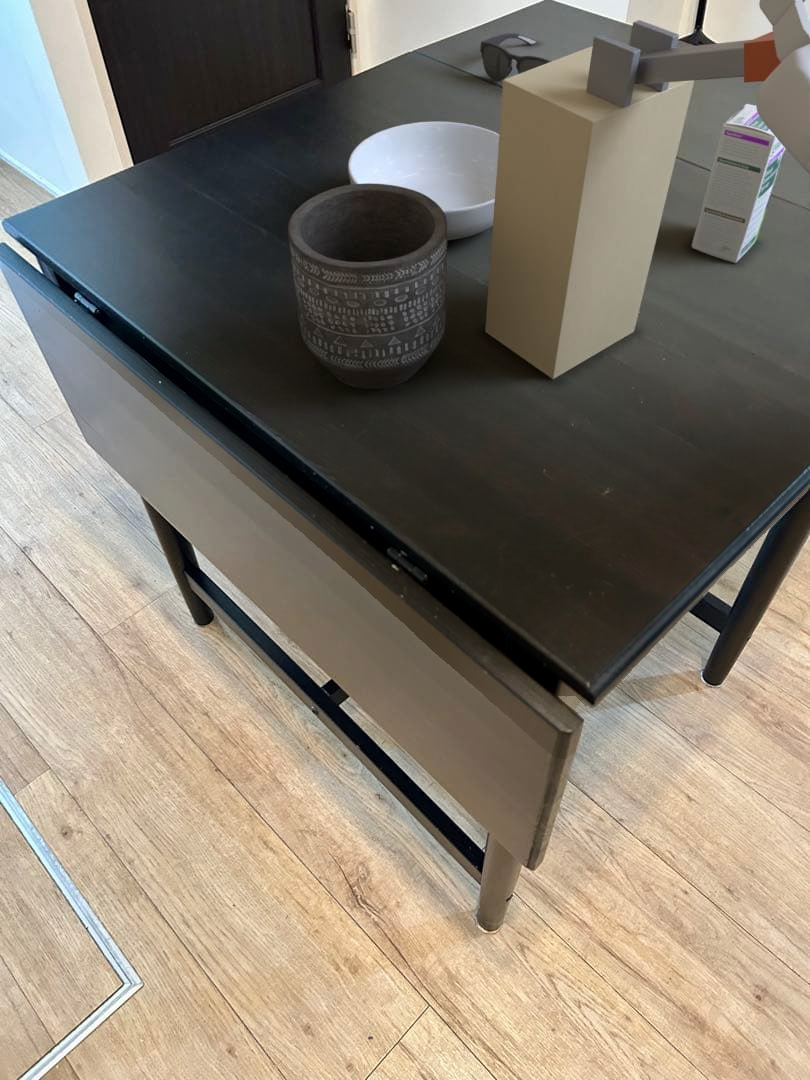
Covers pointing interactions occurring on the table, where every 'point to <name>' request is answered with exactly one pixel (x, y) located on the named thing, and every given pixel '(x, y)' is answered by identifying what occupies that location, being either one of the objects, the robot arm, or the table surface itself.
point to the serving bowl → (436, 169)
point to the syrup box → (738, 186)
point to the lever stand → (580, 198)
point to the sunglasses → (506, 57)
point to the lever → (710, 62)
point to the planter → (370, 281)
